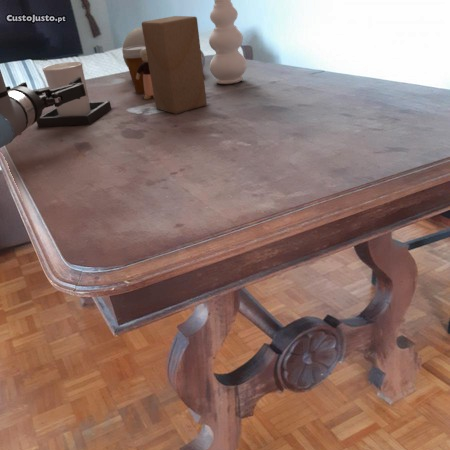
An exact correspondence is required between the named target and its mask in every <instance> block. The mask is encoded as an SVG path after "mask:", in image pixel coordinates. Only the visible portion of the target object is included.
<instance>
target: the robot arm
mask: <svg viewBox="0 0 450 450" xmlns="http://www.w3.org/2000/svg"><path fill="white" fill-rule="evenodd" d="M83 96H86V92H85V89H84V85H83V83H82V80H81V77H77V78H76V79H75V80H73V81H72V82H70V83H69V85H67V86H63V87H60V88H56V89H52V90H50V89H49V88H42V89H38V90H36V89H33V90H32V89H31V88H29V87H28V83H27V82H26V81H25V82H22V83H20V84H18V85H15V86H13V87H11V86H9V85H8V86H7V85H6V82H5V80H4V77H3V73H2V70H1V69H0V149H2V148H3V147H5V146H7V145H9V144H11V143H12V142H13V140H14V139H15V138H17V137H19V136H22V135H23V132H24V131H26V130H27V129H28V128H30V127H31V126H33V125H34V124H35V123H37V122H36V121H38V120H39V119H40V117H41V115H43V111H44V110H45V108H46V109H47V108H50V107H53V106H54V108H55V107H59V106H61V105H62V104H64V103H67V102H70V101H72V100H75V99H80V97H83Z"/></svg>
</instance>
